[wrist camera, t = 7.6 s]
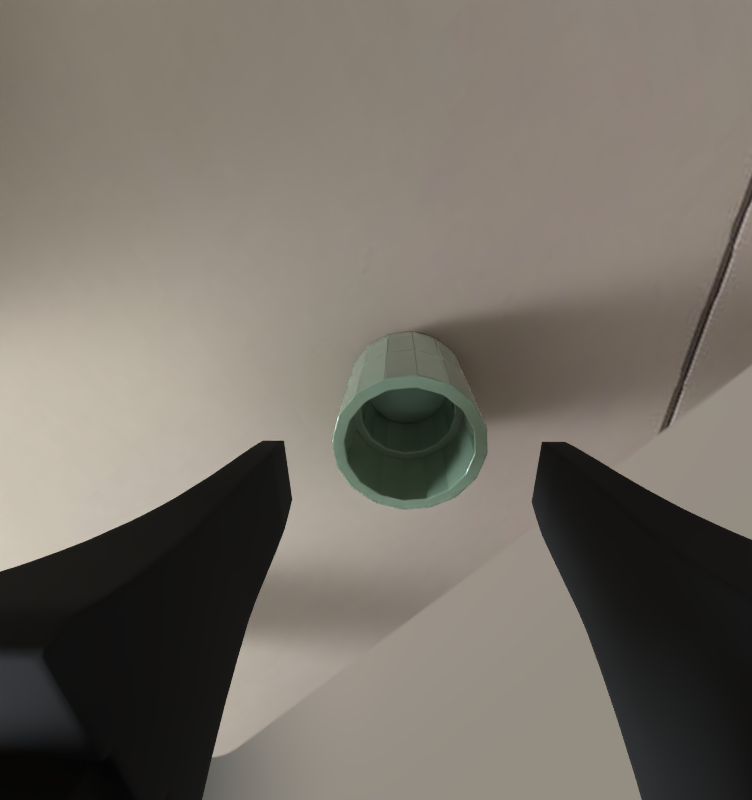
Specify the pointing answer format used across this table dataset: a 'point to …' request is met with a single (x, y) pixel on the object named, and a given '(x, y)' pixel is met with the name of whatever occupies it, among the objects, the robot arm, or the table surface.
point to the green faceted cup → (409, 424)
